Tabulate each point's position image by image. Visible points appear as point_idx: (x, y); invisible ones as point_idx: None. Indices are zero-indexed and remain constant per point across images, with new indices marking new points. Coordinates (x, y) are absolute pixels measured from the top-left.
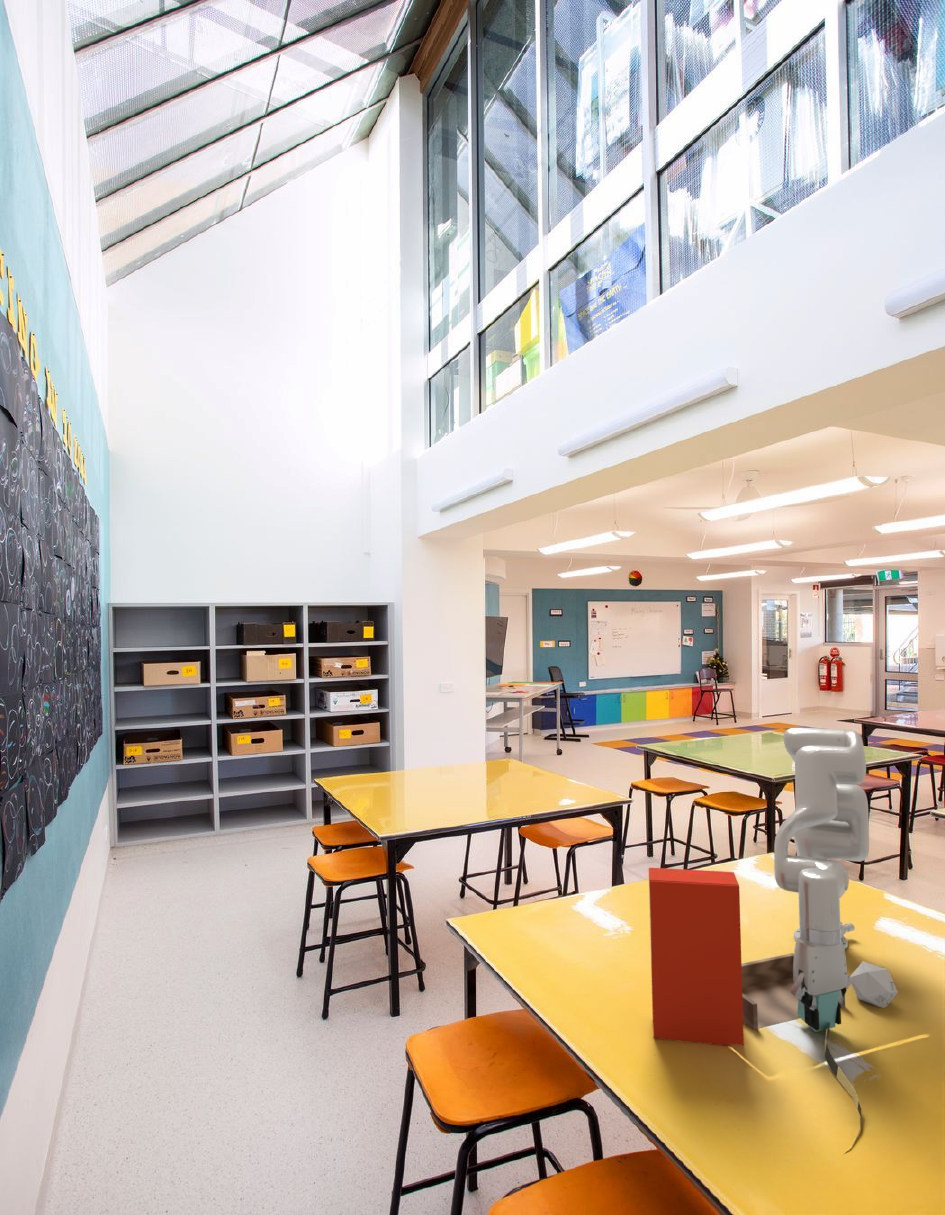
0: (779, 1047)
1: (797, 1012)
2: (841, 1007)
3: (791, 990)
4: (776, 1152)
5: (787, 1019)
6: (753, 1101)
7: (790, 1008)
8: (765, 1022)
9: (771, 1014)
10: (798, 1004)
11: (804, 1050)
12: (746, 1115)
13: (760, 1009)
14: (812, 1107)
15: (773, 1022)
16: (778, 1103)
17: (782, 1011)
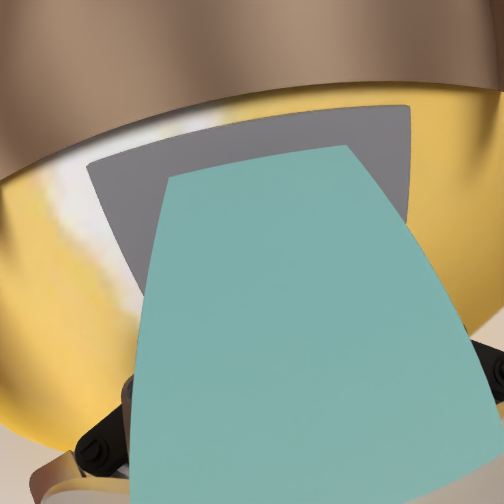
0: (54, 280)
1: (166, 190)
2: (498, 90)
3: (32, 493)
4: (46, 431)
5: (146, 103)
6: (11, 387)
7: None
8: (26, 134)
9: (81, 50)
10: (156, 239)
11: (135, 307)
12: (8, 397)
13: (51, 5)
14: (98, 418)
15: (58, 134)
16: (46, 400)
17: (164, 16)
